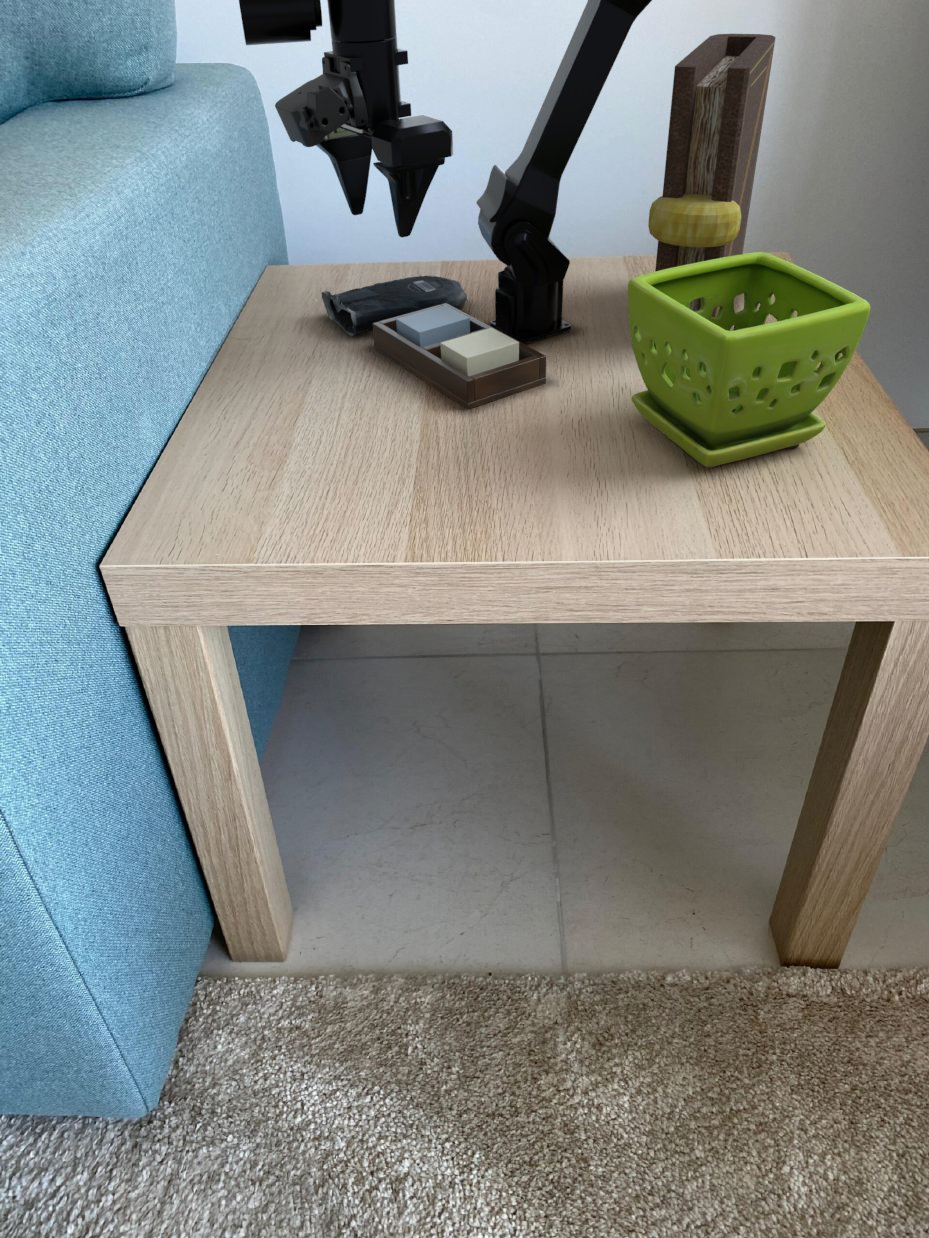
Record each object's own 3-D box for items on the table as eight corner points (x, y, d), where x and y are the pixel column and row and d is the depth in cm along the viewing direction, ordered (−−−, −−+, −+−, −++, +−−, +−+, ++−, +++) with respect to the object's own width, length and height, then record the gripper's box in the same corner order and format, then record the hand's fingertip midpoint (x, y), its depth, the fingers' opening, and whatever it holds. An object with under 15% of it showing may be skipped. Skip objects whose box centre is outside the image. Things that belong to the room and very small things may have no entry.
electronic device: (361, 356, 99) (482, 309, 103) (345, 305, 96) (471, 258, 100) (331, 338, 107) (445, 294, 111) (316, 290, 104) (434, 247, 107)
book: (675, 281, 110) (702, 33, 94) (748, 288, 108) (789, 34, 92) (630, 354, 94) (654, 71, 79) (716, 365, 92) (758, 75, 76)
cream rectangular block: (492, 356, 93) (491, 327, 91) (519, 371, 90) (519, 342, 88) (441, 372, 91) (440, 342, 89) (467, 388, 88) (466, 358, 86)
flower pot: (612, 416, 84) (622, 274, 76) (740, 386, 88) (764, 248, 80) (701, 489, 74) (725, 334, 66) (842, 451, 78) (881, 300, 70)
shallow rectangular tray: (447, 328, 101) (446, 302, 100) (546, 383, 90) (546, 355, 88) (374, 349, 97) (371, 323, 96) (467, 409, 86) (467, 381, 84)
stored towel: (446, 333, 99) (445, 304, 97) (470, 346, 96) (469, 317, 94) (397, 347, 96) (395, 318, 94) (421, 361, 93) (419, 332, 91)
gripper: (235, 37, 84) (264, 219, 94) (331, 62, 72) (353, 268, 81) (344, 24, 89) (361, 198, 98) (452, 45, 76) (459, 242, 86)
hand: (380, 225), depth 91 cm, fingers open, 9 cm apart
